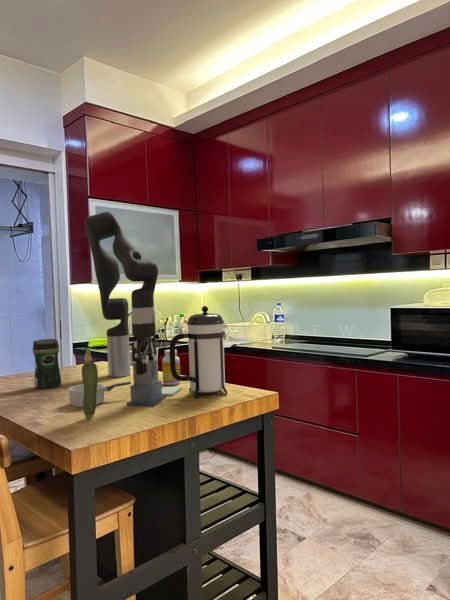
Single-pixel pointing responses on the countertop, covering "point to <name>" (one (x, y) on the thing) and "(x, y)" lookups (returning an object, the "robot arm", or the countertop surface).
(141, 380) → the collar
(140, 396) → the grey peg stand
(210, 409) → the countertop surface
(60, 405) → the countertop surface
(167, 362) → the supplement bottle
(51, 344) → the coffee jar
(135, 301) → the robot arm
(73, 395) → the saucepan
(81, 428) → the countertop surface
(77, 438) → the countertop surface
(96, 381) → the vegetable
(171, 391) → the pad
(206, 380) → the coffee press
